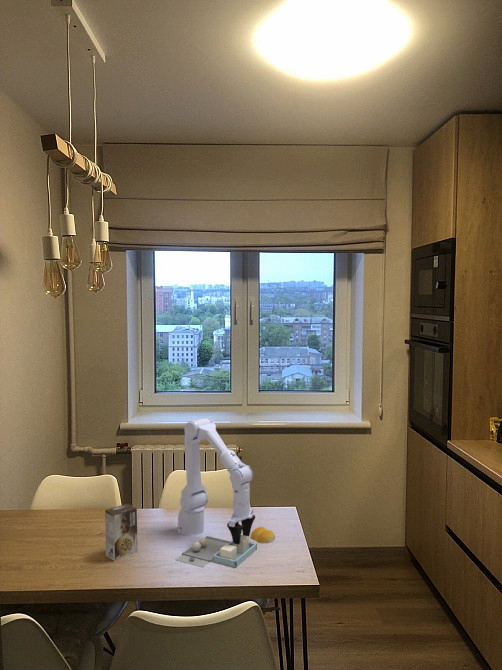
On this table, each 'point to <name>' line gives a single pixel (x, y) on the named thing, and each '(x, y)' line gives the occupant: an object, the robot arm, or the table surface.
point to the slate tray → (203, 552)
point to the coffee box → (121, 531)
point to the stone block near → (228, 552)
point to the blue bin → (240, 556)
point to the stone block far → (242, 544)
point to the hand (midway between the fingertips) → (241, 539)
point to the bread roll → (262, 535)
